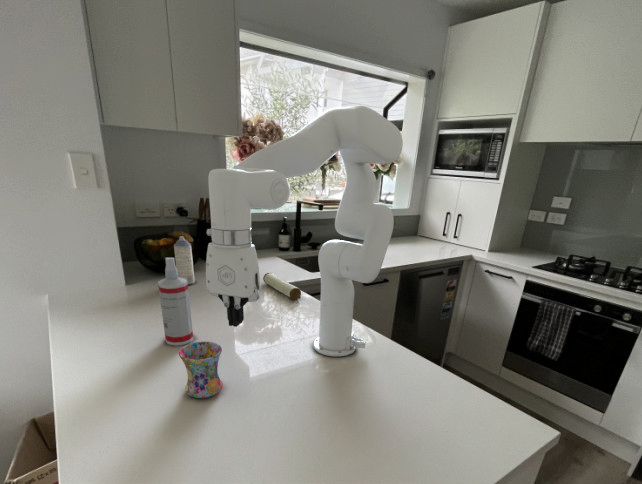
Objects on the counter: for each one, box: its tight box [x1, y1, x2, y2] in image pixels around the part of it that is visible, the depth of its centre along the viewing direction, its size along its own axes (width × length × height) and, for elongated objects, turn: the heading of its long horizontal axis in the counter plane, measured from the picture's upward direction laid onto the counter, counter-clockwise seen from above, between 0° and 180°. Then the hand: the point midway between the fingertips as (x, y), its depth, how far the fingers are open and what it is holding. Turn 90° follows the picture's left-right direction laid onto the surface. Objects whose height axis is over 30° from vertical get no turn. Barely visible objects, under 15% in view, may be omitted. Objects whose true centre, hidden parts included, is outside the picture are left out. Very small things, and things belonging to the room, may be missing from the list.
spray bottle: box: [157, 257, 194, 346], centre depth 108 cm, size 8×8×25 cm
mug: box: [178, 341, 224, 399], centre depth 88 cm, size 12×9×11 cm
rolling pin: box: [262, 272, 302, 301], centre depth 158 cm, size 32×6×5 cm, turn 32°
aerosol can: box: [173, 235, 196, 286], centre depth 161 cm, size 7×7×20 cm
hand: (235, 323), depth 80 cm, fingers closed
